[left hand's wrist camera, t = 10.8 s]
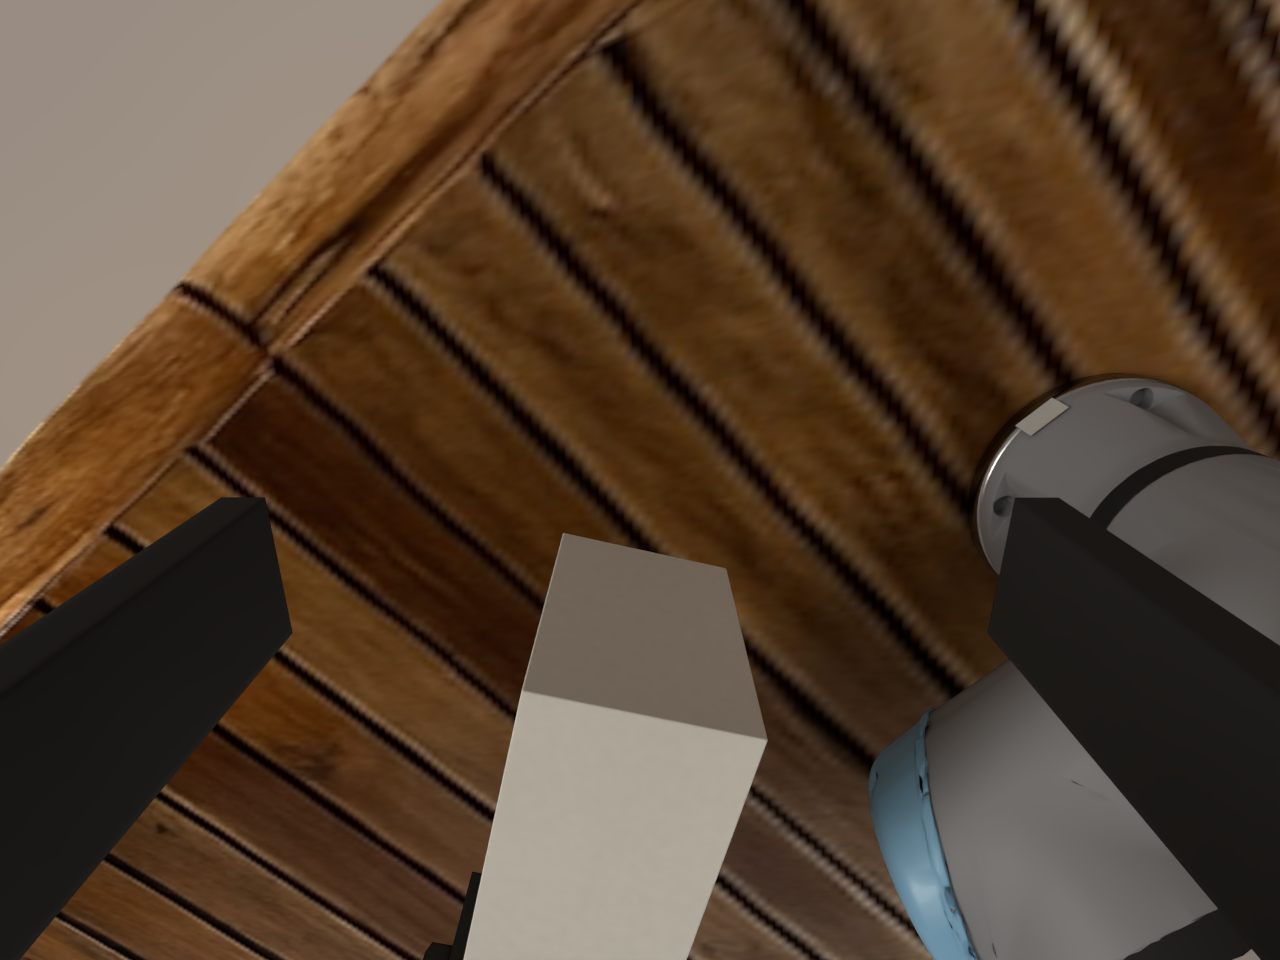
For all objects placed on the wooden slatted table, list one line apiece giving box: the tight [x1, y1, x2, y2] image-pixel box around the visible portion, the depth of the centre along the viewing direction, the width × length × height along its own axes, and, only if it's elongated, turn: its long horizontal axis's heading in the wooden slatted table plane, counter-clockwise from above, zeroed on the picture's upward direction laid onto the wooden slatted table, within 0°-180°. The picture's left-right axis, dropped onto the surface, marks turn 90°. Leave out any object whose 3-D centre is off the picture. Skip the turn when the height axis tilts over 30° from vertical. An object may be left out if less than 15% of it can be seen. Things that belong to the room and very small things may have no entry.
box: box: [463, 533, 768, 960], centre depth 30 cm, size 24×8×11 cm, turn 167°
